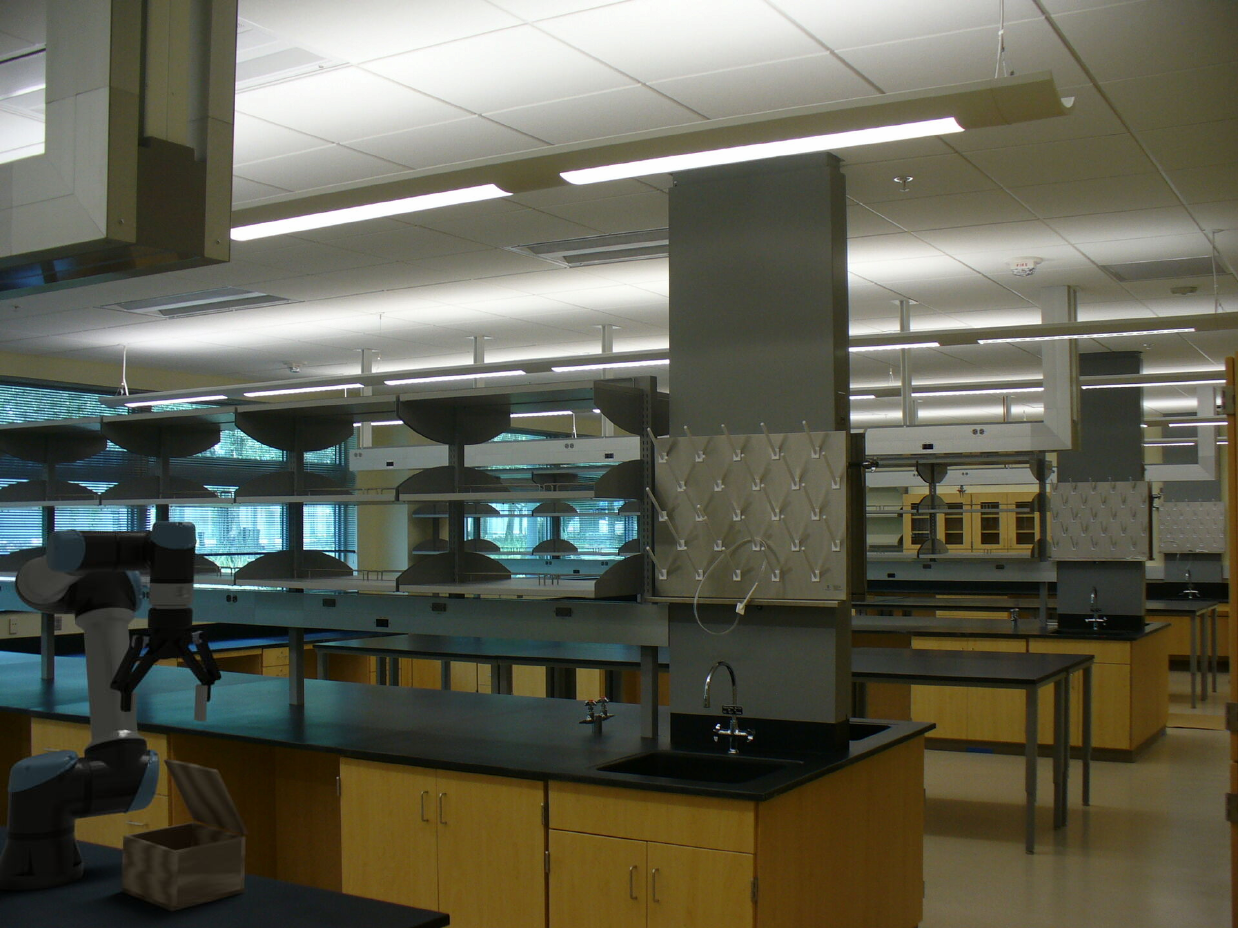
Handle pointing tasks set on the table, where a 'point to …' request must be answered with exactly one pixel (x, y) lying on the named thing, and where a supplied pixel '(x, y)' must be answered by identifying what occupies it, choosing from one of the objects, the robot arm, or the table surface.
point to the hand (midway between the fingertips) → (165, 725)
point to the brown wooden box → (183, 865)
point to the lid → (206, 795)
